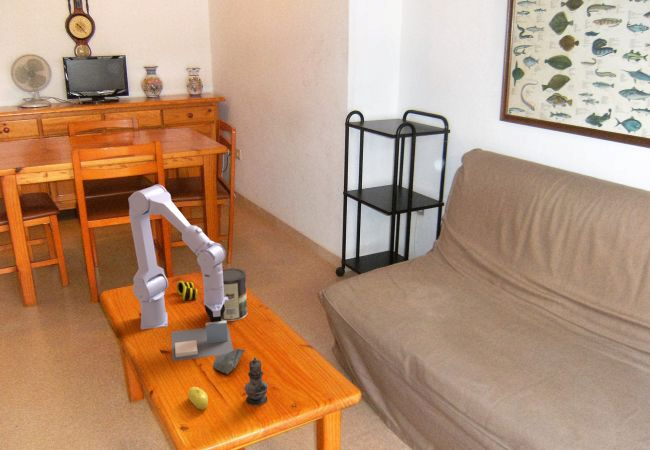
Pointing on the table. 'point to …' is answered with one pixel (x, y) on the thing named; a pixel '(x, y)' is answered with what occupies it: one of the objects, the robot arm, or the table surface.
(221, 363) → the stone
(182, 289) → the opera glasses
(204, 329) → the mat
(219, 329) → the tile
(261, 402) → the dark chess piece
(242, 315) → the coffee can
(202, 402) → the lemon
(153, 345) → the table surface
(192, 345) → the tile
